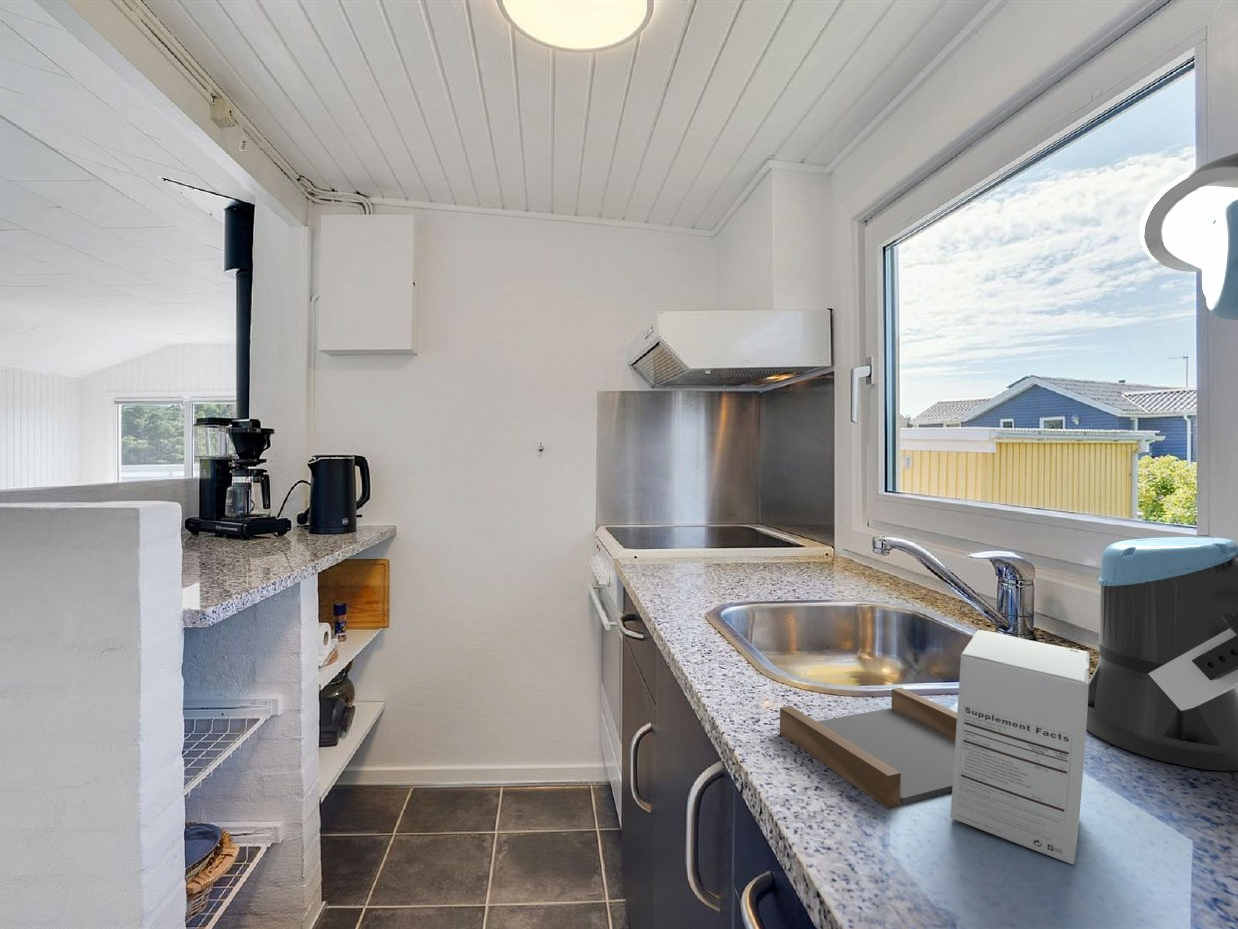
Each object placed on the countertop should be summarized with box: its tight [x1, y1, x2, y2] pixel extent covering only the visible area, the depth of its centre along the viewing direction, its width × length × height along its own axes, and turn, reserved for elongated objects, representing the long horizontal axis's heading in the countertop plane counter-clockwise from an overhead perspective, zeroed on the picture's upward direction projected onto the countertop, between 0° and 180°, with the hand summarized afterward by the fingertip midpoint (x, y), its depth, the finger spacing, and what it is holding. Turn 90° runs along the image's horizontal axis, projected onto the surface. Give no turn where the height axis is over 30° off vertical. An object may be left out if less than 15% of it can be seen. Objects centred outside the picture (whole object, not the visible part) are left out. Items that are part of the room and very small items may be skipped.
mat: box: [816, 707, 955, 806], centre depth 65 cm, size 15×16×1 cm
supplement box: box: [950, 629, 1091, 865], centre depth 52 cm, size 9×9×15 cm
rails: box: [779, 687, 957, 809], centre depth 65 cm, size 18×16×3 cm
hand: (1170, 690), depth 42 cm, fingers closed
